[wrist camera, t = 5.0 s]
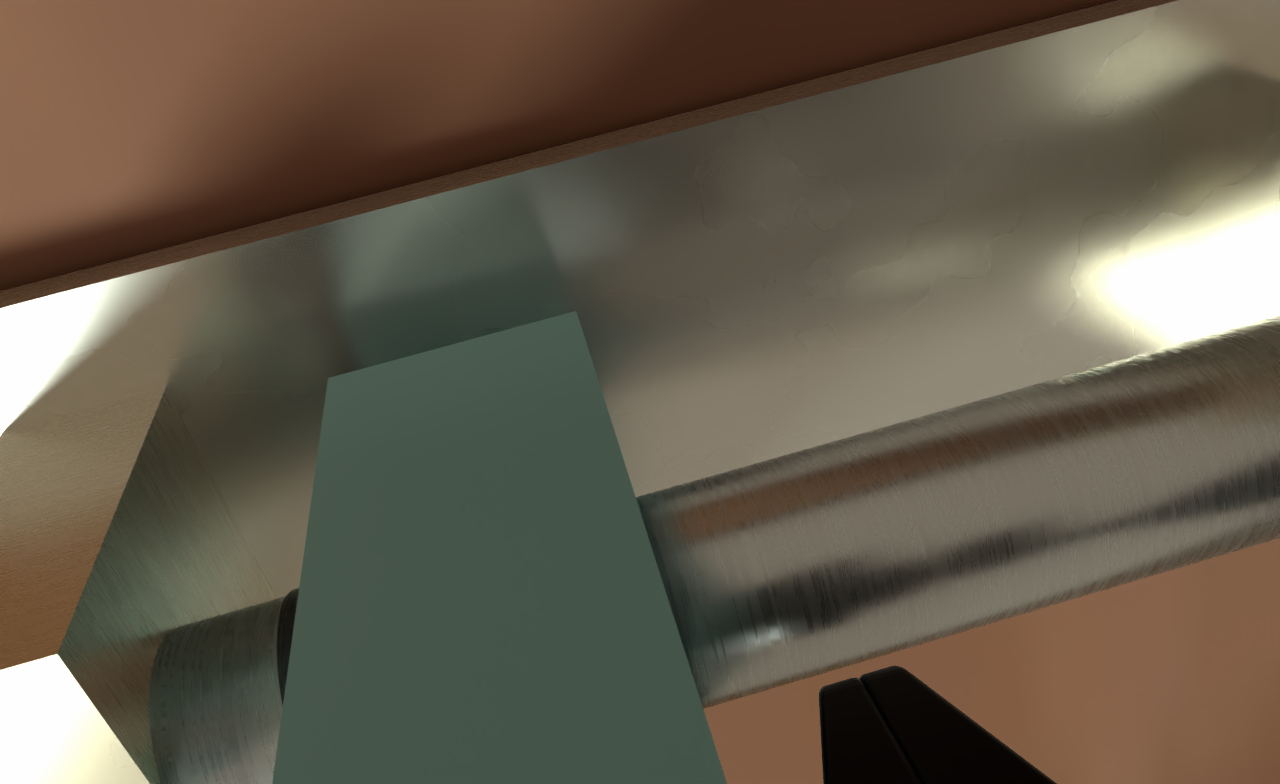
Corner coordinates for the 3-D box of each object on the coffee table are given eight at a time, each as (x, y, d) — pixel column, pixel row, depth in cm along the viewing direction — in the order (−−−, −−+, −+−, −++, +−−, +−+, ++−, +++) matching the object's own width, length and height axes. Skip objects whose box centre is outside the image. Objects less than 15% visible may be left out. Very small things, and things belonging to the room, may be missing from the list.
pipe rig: (1488, -97, 13) (2021, -41, 9) (1377, 405, 18) (1703, 613, 13) (-131, 325, 12) (-439, 632, 8) (165, 757, 16) (75, 1116, 12)
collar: (576, 310, 12) (733, 805, 6) (655, 611, 15) (818, 1158, 9) (327, 377, 12) (248, 950, 6) (452, 670, 15) (483, 1268, 9)
